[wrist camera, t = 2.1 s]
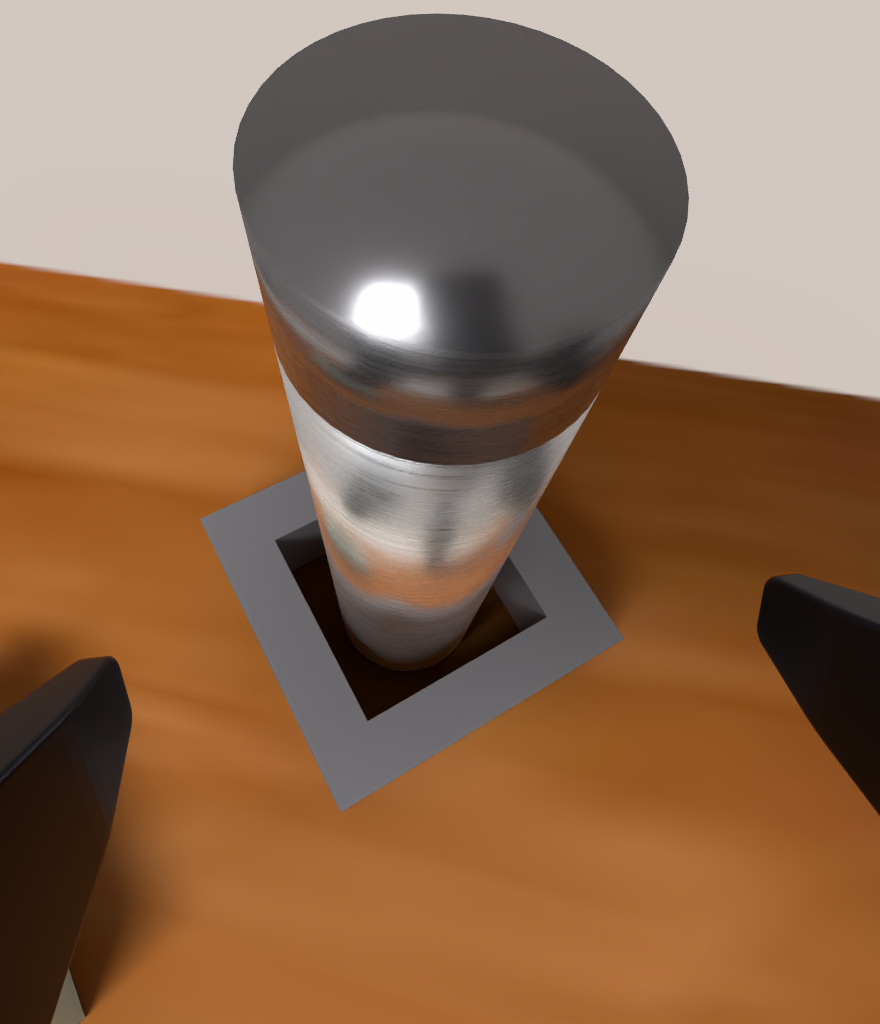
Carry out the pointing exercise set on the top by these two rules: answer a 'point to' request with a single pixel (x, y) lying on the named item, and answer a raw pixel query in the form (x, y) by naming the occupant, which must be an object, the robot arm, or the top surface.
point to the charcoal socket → (435, 709)
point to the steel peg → (446, 291)
